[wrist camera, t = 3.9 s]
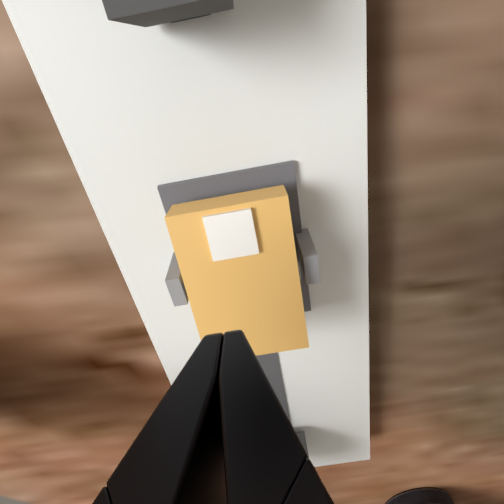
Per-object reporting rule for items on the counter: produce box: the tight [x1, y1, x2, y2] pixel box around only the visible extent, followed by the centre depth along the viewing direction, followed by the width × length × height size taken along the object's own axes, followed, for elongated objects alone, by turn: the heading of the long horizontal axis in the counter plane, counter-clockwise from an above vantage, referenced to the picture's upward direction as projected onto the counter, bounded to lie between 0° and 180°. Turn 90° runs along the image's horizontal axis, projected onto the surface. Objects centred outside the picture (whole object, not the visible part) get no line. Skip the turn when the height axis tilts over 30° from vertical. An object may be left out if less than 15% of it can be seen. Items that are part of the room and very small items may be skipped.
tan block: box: [164, 185, 309, 356], centre depth 15 cm, size 5×7×2 cm
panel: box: [2, 0, 370, 467], centre depth 18 cm, size 12×35×4 cm, turn 10°
